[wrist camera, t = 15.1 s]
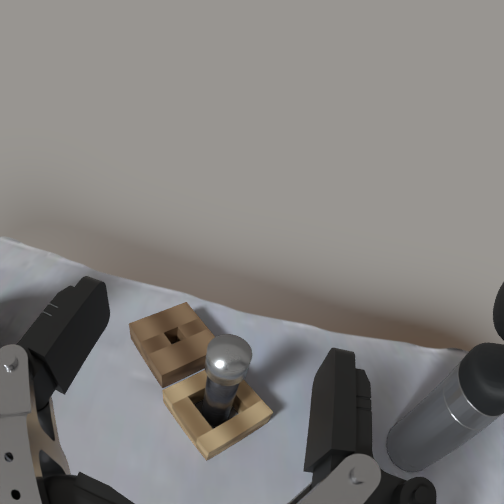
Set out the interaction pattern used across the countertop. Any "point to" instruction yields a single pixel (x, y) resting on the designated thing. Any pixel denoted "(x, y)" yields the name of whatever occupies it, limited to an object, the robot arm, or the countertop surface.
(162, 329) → the walnut block
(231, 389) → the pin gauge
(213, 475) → the countertop surface
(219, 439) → the oak block
